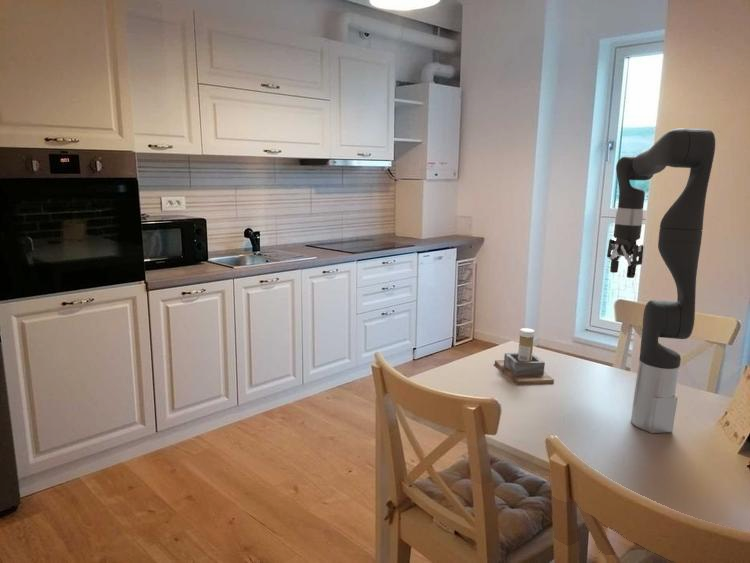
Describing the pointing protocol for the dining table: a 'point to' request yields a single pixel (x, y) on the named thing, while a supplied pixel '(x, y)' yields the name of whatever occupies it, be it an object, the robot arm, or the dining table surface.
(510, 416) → the dining table surface
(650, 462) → the dining table surface
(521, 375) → the socket holder
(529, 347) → the sprinkles bottle
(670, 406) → the robot arm
